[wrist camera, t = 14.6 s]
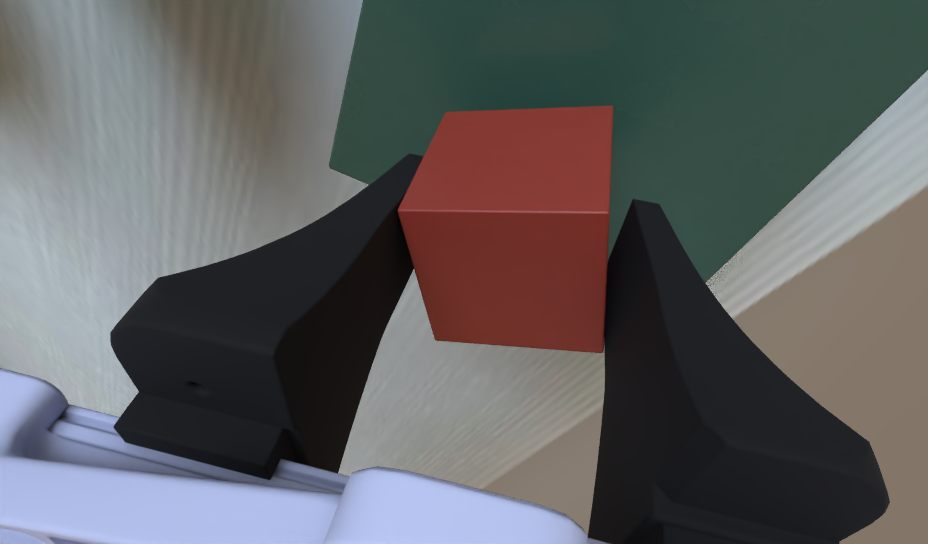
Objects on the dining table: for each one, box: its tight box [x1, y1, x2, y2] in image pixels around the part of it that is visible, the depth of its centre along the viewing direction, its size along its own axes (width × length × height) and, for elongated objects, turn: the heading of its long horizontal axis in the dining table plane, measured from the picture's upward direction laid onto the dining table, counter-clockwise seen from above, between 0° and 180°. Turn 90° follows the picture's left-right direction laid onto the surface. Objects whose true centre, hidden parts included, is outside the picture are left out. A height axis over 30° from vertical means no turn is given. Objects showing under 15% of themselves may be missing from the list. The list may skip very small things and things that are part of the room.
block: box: [398, 106, 613, 353], centre depth 13 cm, size 4×4×4 cm
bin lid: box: [329, 0, 928, 282], centre depth 14 cm, size 11×13×1 cm
